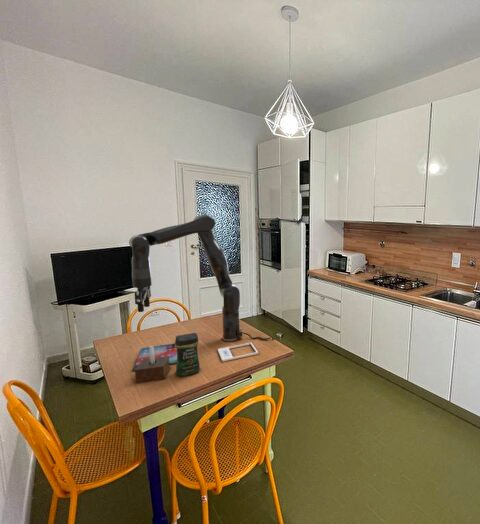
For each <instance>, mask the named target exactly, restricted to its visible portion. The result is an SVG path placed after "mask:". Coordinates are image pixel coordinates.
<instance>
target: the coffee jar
mask: <svg viewBox="0 0 480 524" xmlns="http://www.w3.org/2000/svg"><path fill="white" fill-rule="evenodd" d="M199 342H200V341H199V336H198V334H197V333H196V332H191V333H185V334H180V335H176V336H175V342H174V343H175V347H176V348H177V363H176V366H175V372H176V375H177V376H178V377H186V376H190V375H195V374H197V373H198V372H199V371H200V369H201V368H200V367H201V365H200V359H199V352H198V351H199V350H198V347H199Z"/></svg>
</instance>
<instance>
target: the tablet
mask: <svg viewBox="0 0 480 524" xmlns="http://www.w3.org/2000/svg"><path fill="white" fill-rule="evenodd" d="M152 346H153V347H154V357H155V358H156V357H164V356H169V366H170V365H175V364H177V348H176V347H175V342H174V343H168V344H160V345H155V346H154V345H152ZM147 358H150V346H148V347H141V349H140V351H139V354H138V356H137V359H136V361H135V363H134V367H133V369H132V370H133V371H134V372H135V369H136V368H137V366H138V365H139V364H140V362H141V361H142V359H147Z"/></svg>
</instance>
